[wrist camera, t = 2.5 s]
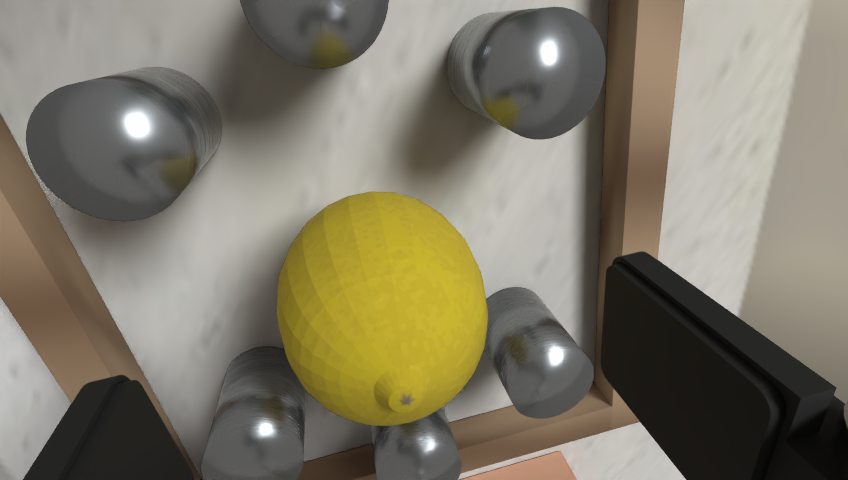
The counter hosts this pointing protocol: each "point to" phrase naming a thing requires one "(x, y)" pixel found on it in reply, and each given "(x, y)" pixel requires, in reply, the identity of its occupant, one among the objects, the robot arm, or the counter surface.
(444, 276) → the lemon
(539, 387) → the posts
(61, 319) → the frame
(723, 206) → the counter surface
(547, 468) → the dish
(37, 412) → the counter surface
